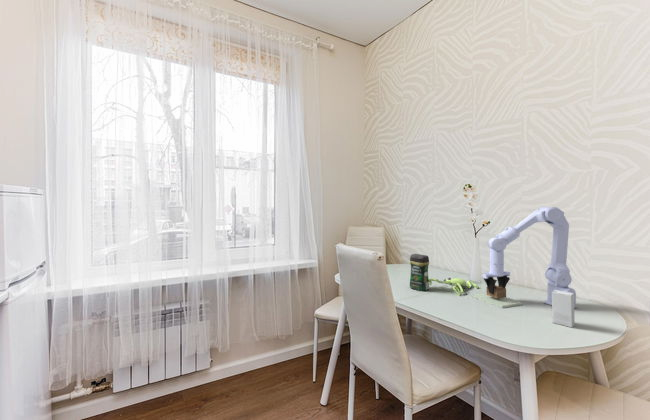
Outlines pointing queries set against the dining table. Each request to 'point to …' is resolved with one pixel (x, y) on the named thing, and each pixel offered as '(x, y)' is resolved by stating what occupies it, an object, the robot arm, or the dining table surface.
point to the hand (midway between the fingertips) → (496, 292)
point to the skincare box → (563, 308)
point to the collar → (497, 292)
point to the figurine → (455, 283)
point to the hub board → (497, 300)
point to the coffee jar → (419, 272)
